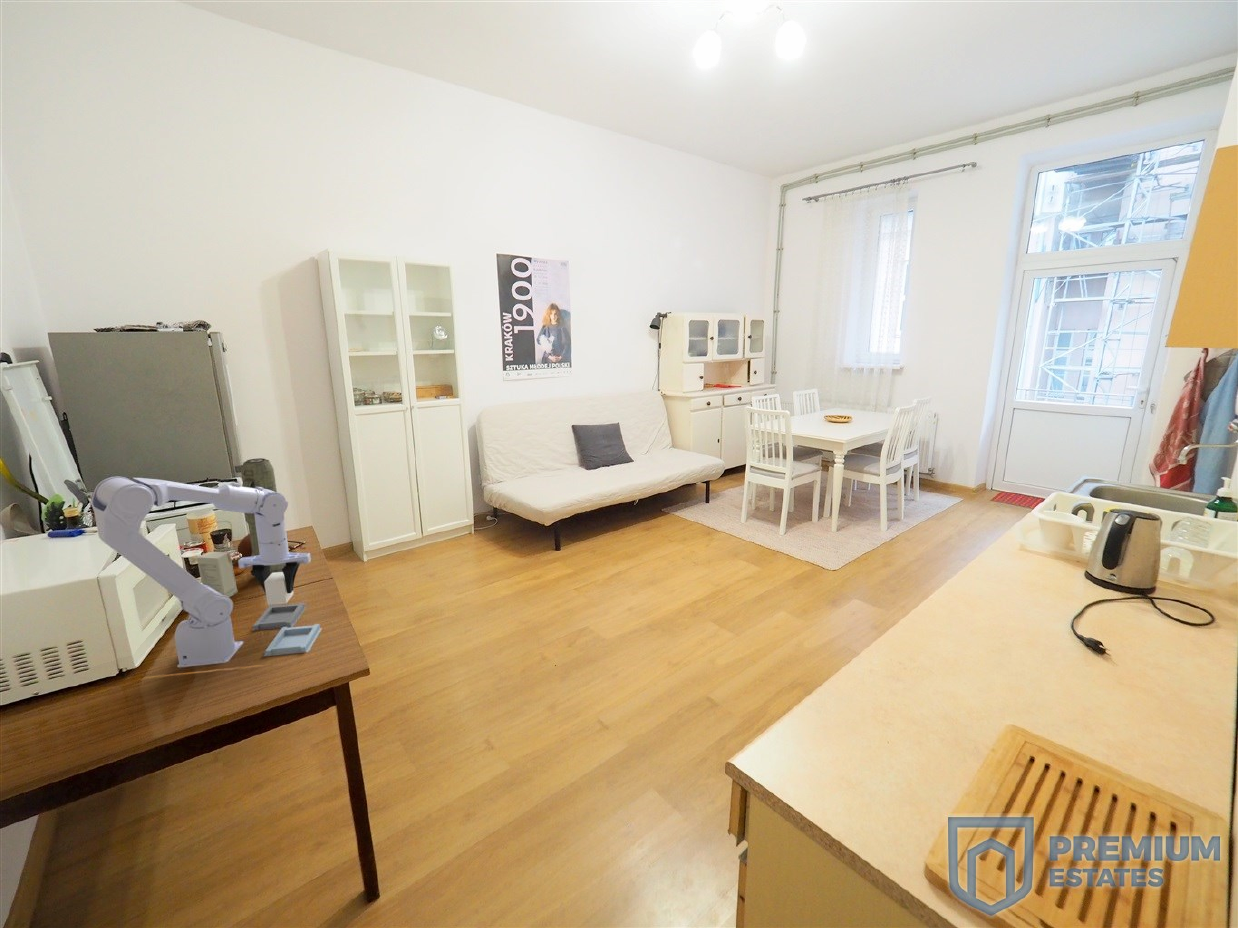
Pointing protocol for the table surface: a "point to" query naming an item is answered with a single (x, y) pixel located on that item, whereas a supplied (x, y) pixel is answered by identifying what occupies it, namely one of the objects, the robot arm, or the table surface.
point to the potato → (245, 547)
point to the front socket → (293, 640)
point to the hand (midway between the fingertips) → (279, 592)
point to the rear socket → (280, 616)
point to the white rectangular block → (276, 589)
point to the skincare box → (218, 572)
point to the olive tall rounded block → (252, 477)
